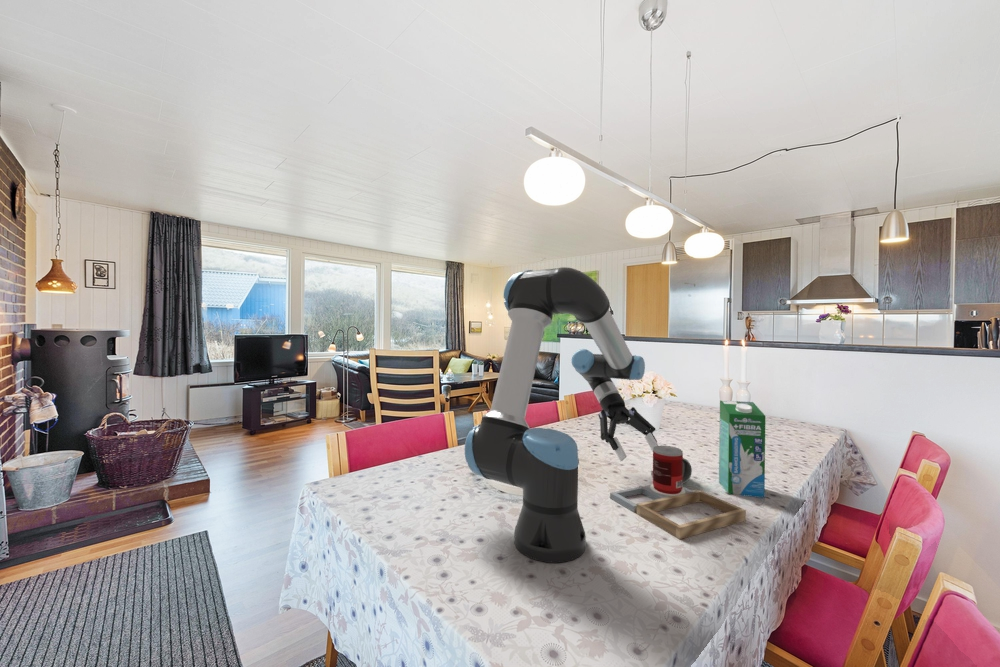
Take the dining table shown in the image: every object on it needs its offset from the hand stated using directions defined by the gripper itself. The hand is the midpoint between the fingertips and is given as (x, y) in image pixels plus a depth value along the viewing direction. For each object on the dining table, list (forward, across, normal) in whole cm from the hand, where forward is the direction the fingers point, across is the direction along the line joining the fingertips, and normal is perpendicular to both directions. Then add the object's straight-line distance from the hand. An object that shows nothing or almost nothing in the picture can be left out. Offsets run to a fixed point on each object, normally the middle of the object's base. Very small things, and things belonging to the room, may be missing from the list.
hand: (641, 456), depth 119 cm
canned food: (+12, 0, +3) cm, 12 cm away
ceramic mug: (+7, -10, -5) cm, 13 cm away
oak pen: (+21, +5, +10) cm, 24 cm away
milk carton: (+16, -23, +5) cm, 29 cm away
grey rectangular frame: (+13, +5, +2) cm, 14 cm away
